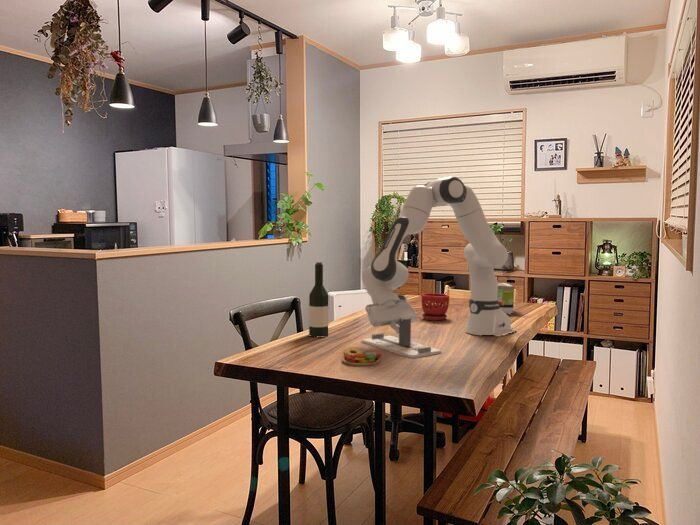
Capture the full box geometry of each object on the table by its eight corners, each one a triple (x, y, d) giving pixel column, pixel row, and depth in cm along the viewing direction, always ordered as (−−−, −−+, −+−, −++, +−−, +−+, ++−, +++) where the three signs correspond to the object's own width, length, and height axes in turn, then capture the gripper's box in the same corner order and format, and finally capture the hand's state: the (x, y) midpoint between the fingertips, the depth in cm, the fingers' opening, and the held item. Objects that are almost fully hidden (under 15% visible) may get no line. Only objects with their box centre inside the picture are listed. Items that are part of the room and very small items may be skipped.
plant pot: (450, 321, 263) (451, 296, 262) (422, 321, 263) (423, 296, 262) (446, 316, 276) (447, 292, 275) (419, 316, 276) (420, 292, 275)
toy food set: (344, 356, 196) (344, 347, 196) (382, 358, 195) (382, 348, 194) (339, 366, 183) (339, 356, 183) (380, 368, 182) (380, 358, 181)
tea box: (513, 314, 283) (514, 285, 282) (494, 314, 284) (494, 285, 282) (506, 309, 298) (506, 282, 297) (487, 309, 299) (487, 282, 297)
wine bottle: (331, 334, 232) (332, 262, 229) (324, 338, 224) (324, 263, 222) (313, 332, 235) (313, 261, 232) (305, 336, 227) (305, 262, 224)
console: (389, 337, 226) (389, 331, 226) (441, 353, 201) (441, 346, 201) (361, 341, 218) (361, 335, 218) (411, 358, 193) (411, 350, 193)
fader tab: (405, 344, 209) (405, 317, 209) (410, 345, 207) (411, 318, 206) (398, 345, 208) (399, 318, 207) (404, 346, 205) (404, 319, 204)
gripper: (367, 299, 208) (382, 330, 201) (409, 296, 220) (425, 324, 212) (360, 310, 212) (375, 340, 205) (402, 305, 224) (417, 334, 216)
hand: (401, 332), depth 209 cm, fingers closed, pressing on fader tab
